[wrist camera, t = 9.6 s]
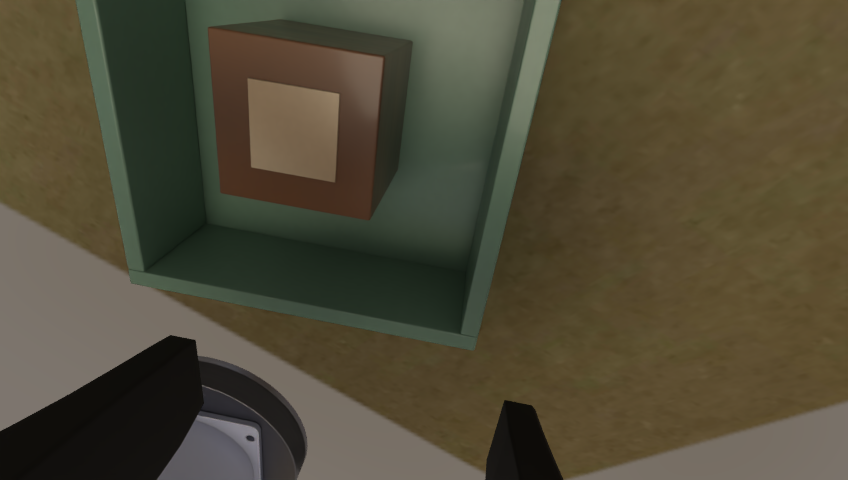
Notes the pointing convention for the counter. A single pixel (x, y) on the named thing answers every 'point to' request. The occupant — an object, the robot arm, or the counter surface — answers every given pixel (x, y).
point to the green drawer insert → (307, 229)
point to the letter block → (308, 114)
